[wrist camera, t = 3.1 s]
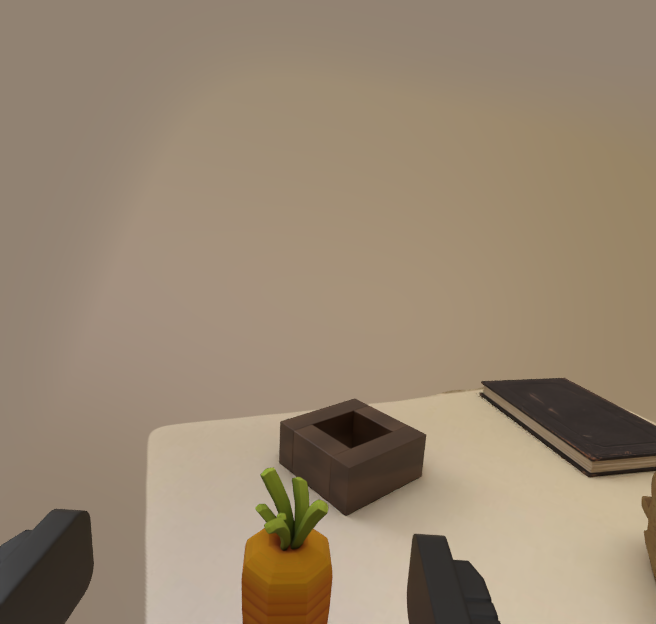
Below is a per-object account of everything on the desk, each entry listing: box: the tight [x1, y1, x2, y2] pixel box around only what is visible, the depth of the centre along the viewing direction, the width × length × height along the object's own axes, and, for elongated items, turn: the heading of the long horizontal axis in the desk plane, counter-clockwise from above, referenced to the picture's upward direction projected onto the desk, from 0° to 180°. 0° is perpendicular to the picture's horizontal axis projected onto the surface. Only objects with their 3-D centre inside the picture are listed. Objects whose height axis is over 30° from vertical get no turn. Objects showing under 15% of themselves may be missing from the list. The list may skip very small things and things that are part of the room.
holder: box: [279, 399, 426, 515], centre depth 51 cm, size 11×11×5 cm
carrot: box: [242, 468, 332, 624], centre depth 25 cm, size 5×5×15 cm
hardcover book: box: [480, 378, 656, 477], centre depth 65 cm, size 16×23×2 cm
